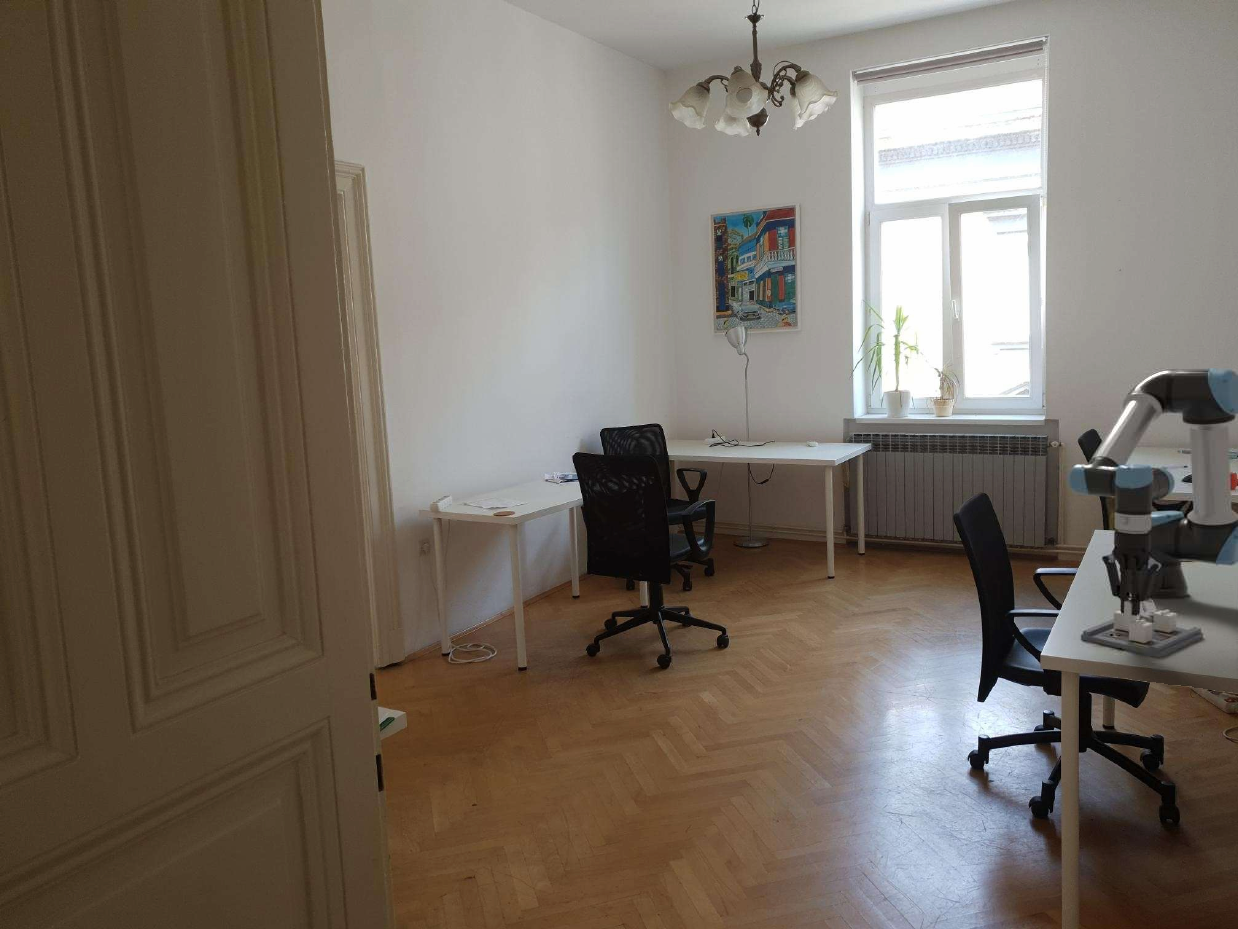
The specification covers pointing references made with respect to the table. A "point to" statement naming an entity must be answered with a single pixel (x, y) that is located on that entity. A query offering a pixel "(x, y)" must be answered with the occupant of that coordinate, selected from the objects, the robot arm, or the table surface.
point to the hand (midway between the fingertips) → (1129, 627)
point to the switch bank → (1156, 647)
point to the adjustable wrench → (1148, 611)
